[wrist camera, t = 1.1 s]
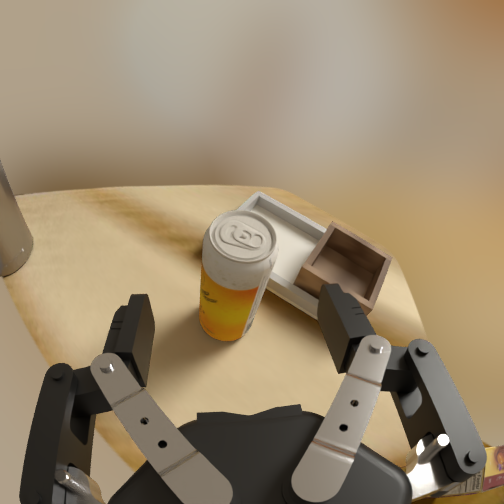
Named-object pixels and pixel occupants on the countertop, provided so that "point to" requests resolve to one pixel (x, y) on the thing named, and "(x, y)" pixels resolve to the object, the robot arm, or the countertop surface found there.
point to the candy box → (482, 475)
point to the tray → (288, 248)
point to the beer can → (235, 272)
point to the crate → (345, 267)
